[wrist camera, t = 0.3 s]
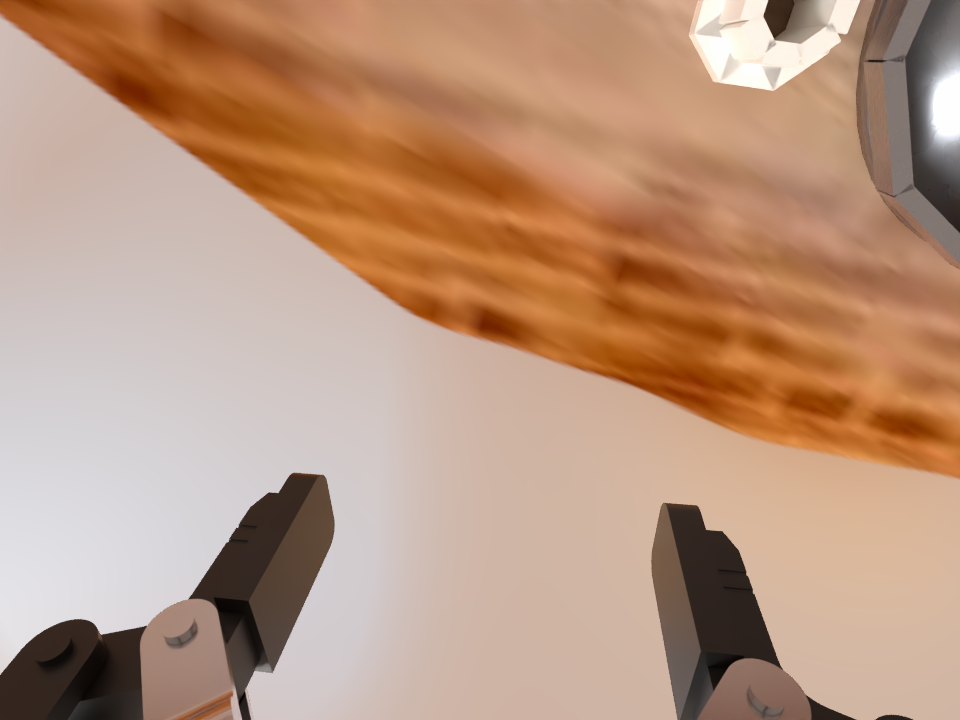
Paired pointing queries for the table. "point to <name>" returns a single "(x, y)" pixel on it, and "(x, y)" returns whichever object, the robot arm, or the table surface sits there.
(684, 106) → the table surface
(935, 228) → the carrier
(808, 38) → the white faceted ring
